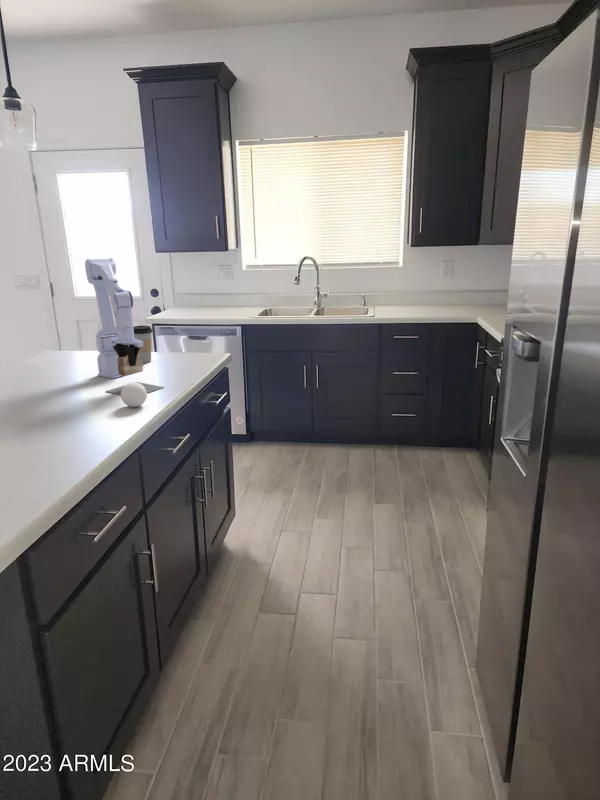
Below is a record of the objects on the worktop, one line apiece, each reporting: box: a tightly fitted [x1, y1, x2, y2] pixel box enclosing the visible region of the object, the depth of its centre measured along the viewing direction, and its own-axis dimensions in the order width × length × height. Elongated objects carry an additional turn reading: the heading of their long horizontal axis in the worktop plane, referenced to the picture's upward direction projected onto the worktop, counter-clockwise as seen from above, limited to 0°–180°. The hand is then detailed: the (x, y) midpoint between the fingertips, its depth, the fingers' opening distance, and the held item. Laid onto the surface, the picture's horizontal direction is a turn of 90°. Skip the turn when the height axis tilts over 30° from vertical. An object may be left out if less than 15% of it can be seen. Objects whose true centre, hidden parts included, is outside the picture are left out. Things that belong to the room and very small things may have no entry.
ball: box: [120, 381, 148, 408], centre depth 167 cm, size 8×8×8 cm
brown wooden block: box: [117, 355, 144, 377], centre depth 186 cm, size 4×8×6 cm, turn 150°
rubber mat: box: [105, 381, 165, 396], centre depth 185 cm, size 14×14×1 cm
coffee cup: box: [133, 325, 153, 364], centre depth 223 cm, size 9×9×15 cm
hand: (128, 365), depth 185 cm, fingers closed on brown wooden block, 3 cm apart
